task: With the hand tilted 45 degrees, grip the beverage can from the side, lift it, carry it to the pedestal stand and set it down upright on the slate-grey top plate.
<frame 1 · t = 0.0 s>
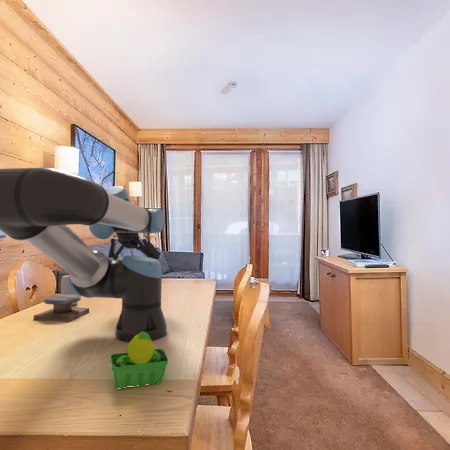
hand: (138, 270, 131), 15 cm above the table, tool tilted 35°, fingers open, 13 cm apart
fruit basket: (138, 383, 69), on the table
pedestal stand: (62, 315, 120), on the table
beverage can: (69, 305, 137), on the table
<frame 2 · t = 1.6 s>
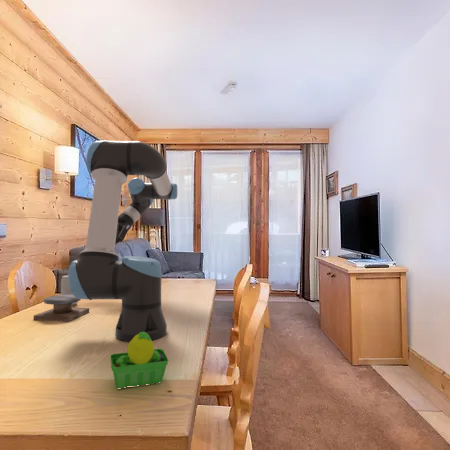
hand: (97, 251, 145), 22 cm above the table, tool tilted 45°, fingers open, 13 cm apart
nothing on the table moved.
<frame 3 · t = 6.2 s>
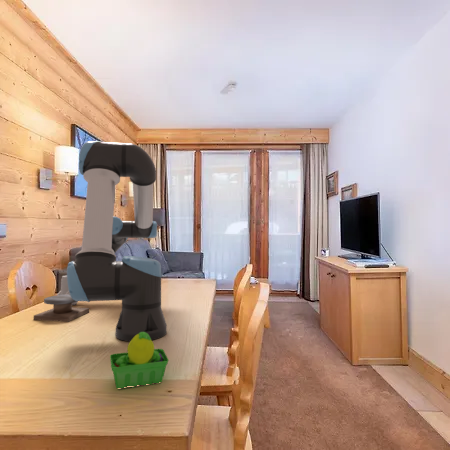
hand: (62, 297, 135), 3 cm above the table, tool tilted 45°, fingers closed on beverage can, 6 cm apart
beverage can: (69, 305, 137), on the table, touching gripper
everything else where it was.
when the fingers open (10 cm above the table, at t = 10.9 s): beverage can stays where it is, resting on pedestal stand.
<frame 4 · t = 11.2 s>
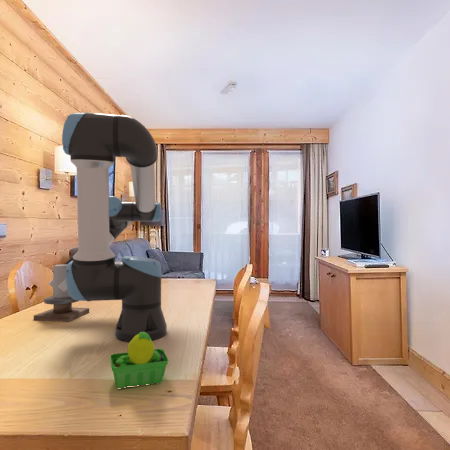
hand: (56, 287, 118), 11 cm above the table, tool tilted 45°, fingers open, 9 cm apart
beverage can: (62, 298, 120), point 6 cm above the table, touching pedestal stand
everything else where it was.
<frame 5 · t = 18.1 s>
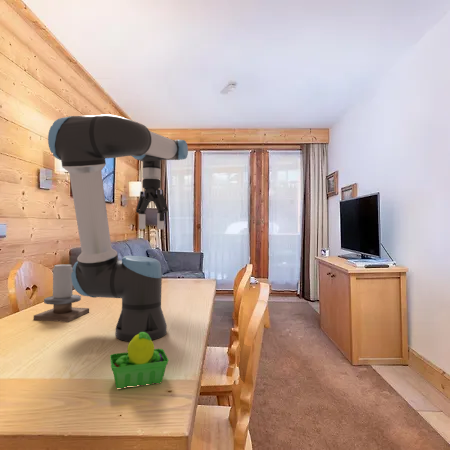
hand: (151, 229, 140), 32 cm above the table, tool pointing down, fingers open, 13 cm apart
nothing on the table moved.
at the end: beverage can inside the target area on the pedestal stand (0.1 cm from its centre), point 6.3 cm above the pedestal stand's base; beverage can tilted 0°; the gripper is holding nothing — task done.
